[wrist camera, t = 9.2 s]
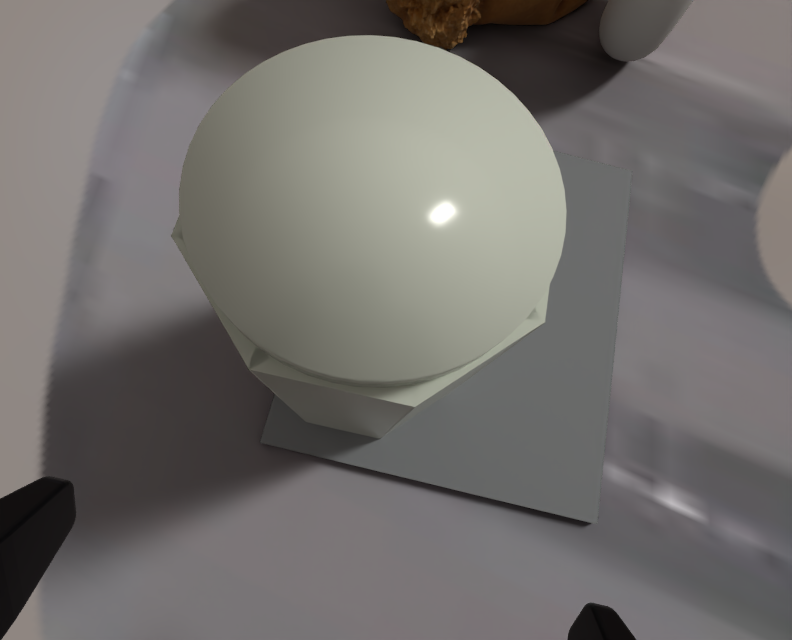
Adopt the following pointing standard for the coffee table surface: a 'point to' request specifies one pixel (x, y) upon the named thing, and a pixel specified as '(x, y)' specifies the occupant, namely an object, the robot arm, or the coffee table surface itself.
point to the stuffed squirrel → (473, 16)
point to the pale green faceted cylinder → (371, 225)
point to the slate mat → (518, 382)
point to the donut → (638, 26)
